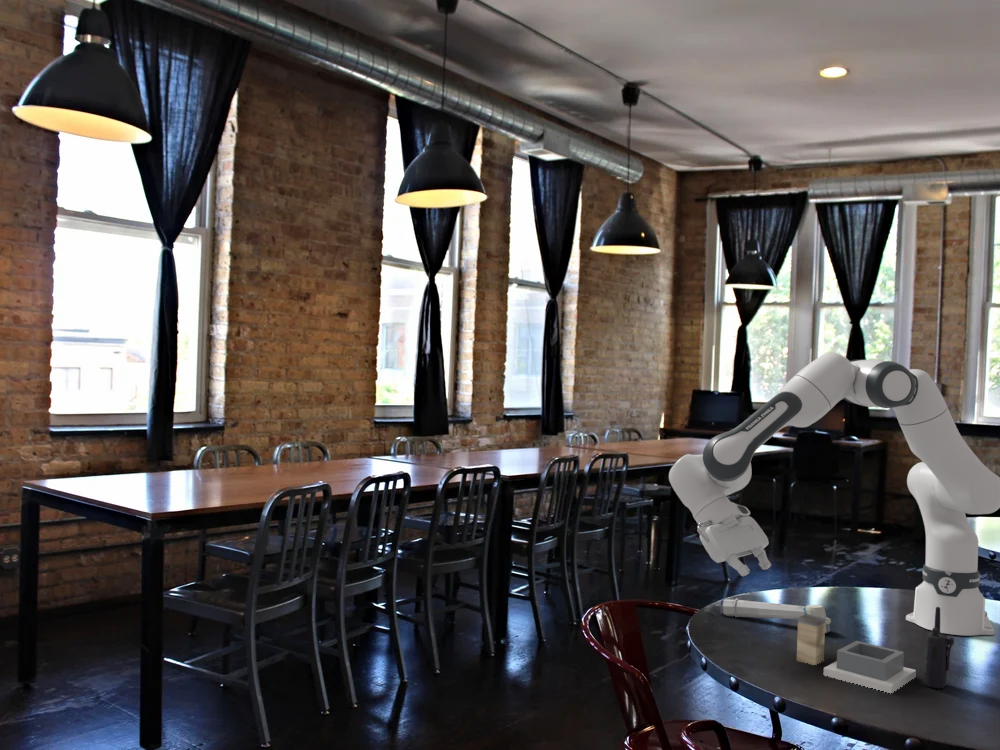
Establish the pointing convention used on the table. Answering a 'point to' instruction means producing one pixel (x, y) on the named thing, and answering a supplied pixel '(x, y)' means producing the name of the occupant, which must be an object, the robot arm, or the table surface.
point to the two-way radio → (937, 655)
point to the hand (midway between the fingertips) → (757, 571)
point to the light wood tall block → (810, 639)
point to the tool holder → (870, 667)
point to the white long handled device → (771, 610)
